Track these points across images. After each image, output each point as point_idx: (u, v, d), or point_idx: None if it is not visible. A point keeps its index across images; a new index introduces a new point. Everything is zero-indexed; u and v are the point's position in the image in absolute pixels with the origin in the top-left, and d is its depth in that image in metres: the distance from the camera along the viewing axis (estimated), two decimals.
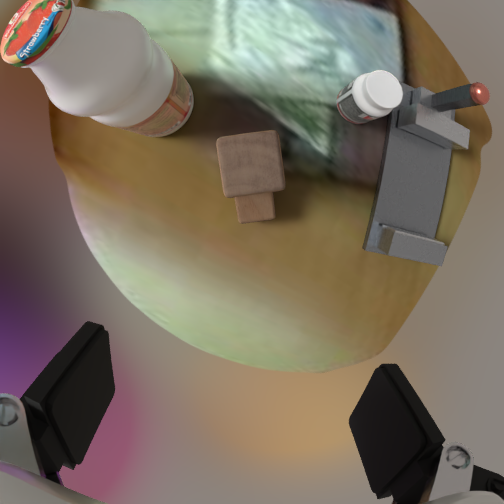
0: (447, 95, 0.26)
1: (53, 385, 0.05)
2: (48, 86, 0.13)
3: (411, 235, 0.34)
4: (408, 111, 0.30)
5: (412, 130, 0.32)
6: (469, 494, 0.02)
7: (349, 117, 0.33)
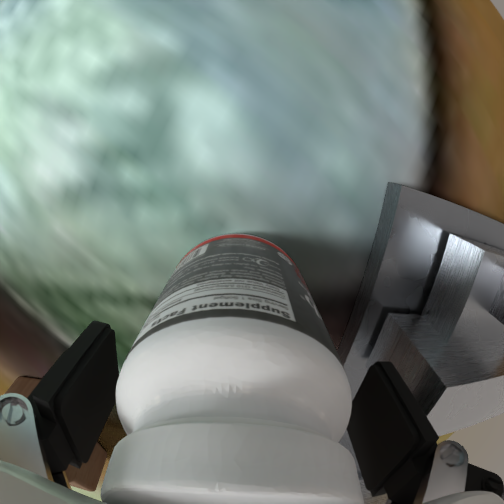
0: None
1: (61, 384, 0.05)
2: None
3: None
4: (406, 367, 0.09)
5: None
6: (469, 494, 0.02)
7: None
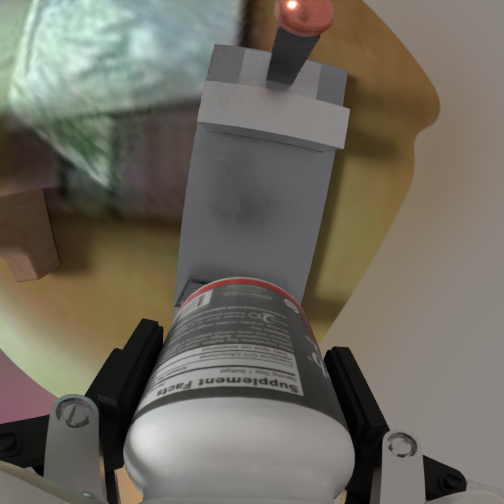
0: None
1: (125, 380, 0.06)
2: None
3: None
4: None
5: (227, 131, 0.21)
6: (469, 494, 0.02)
7: None
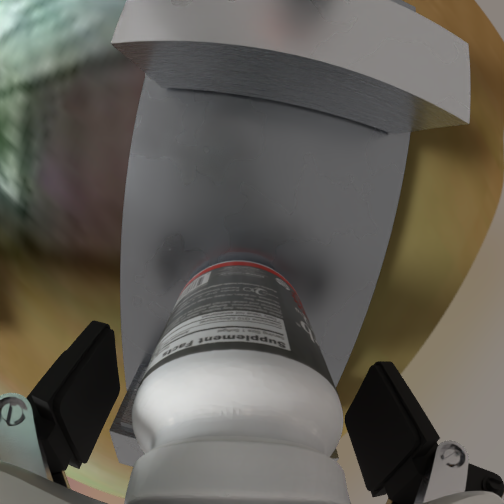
0: None
1: (60, 383, 0.05)
2: None
3: None
4: None
5: (197, 80, 0.09)
6: (469, 494, 0.02)
7: None
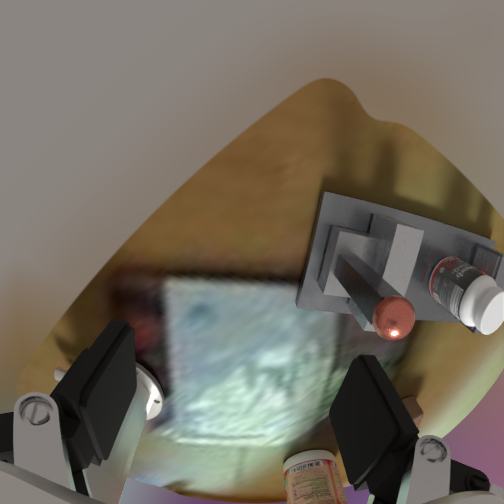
0: None
1: (86, 381, 0.05)
2: None
3: None
4: None
5: None
6: (469, 494, 0.02)
7: None
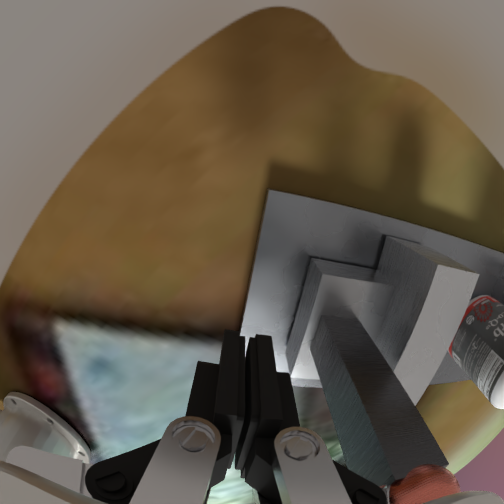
0: None
1: (237, 394, 0.06)
2: None
3: None
4: None
5: None
6: (469, 494, 0.02)
7: None
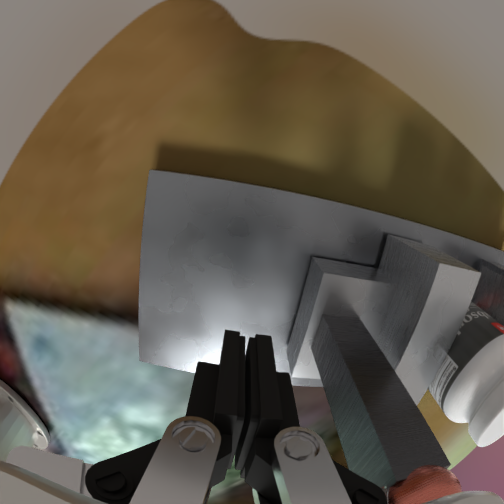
0: None
1: (237, 394, 0.06)
2: None
3: None
4: None
5: None
6: (469, 494, 0.02)
7: None
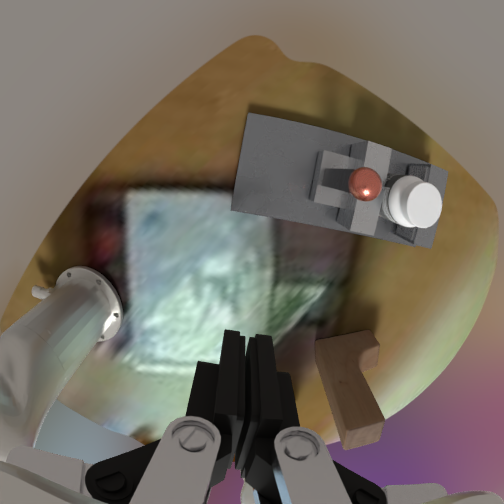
0: None
1: (237, 394, 0.06)
2: None
3: None
4: None
5: None
6: (469, 494, 0.02)
7: None
